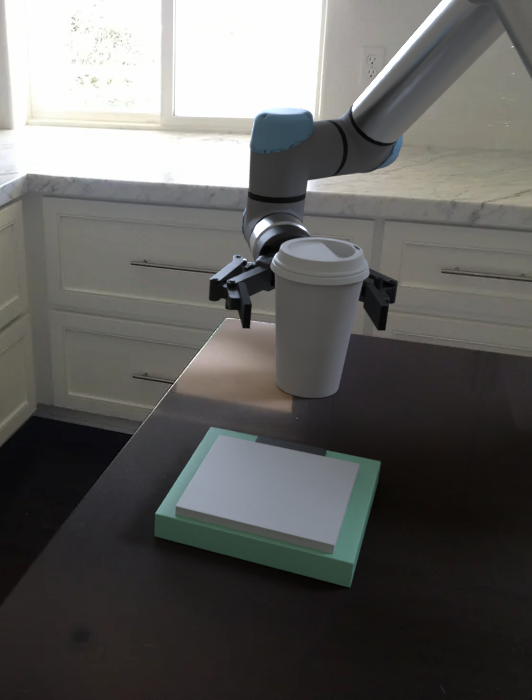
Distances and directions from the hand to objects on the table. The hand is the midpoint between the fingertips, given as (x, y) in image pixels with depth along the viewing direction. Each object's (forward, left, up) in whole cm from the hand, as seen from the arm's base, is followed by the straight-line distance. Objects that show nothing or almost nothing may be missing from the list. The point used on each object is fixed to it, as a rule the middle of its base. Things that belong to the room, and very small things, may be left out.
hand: (315, 317), depth 88 cm
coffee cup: (0, 0, -8) cm, 8 cm away
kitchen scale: (+16, +18, -8) cm, 25 cm away
